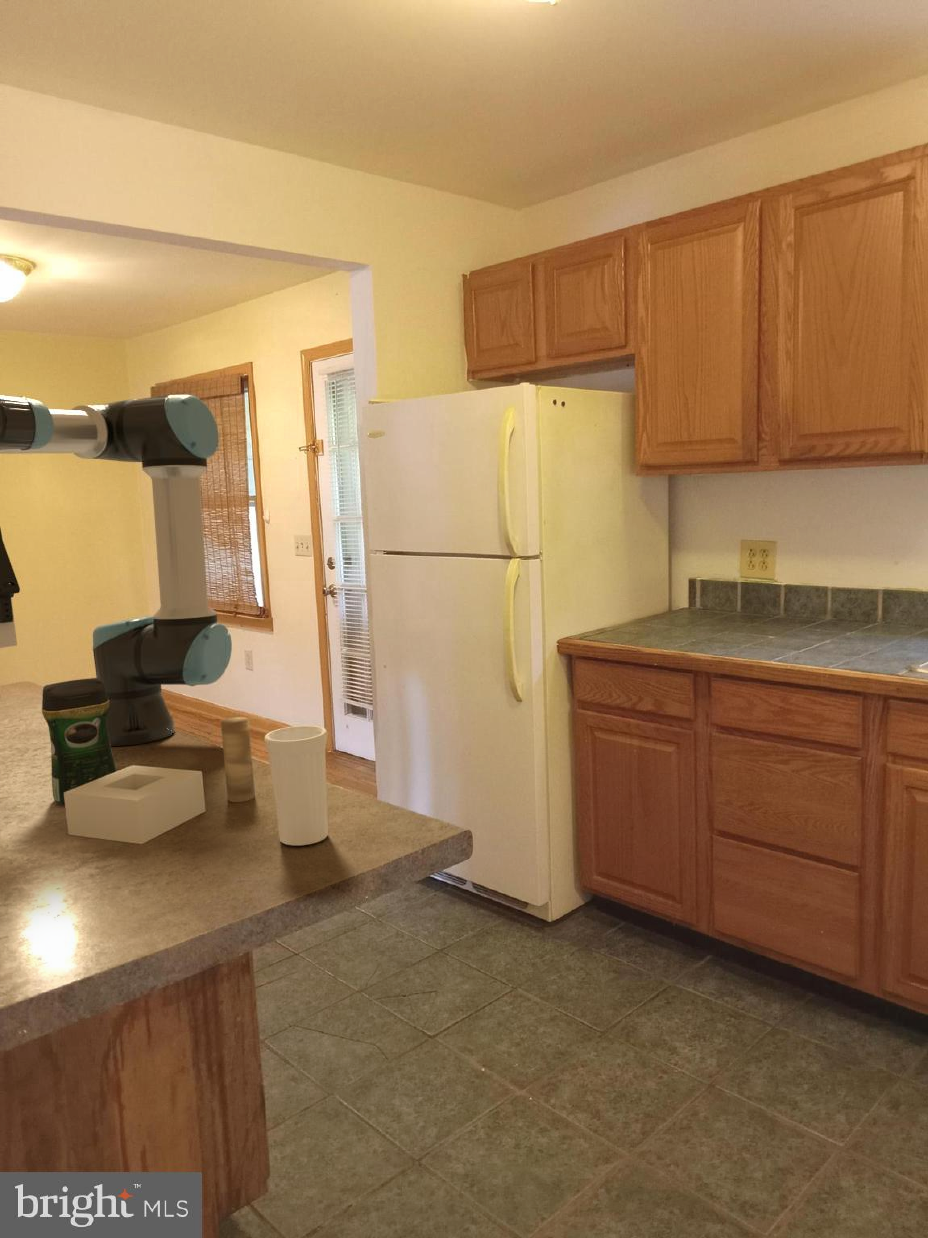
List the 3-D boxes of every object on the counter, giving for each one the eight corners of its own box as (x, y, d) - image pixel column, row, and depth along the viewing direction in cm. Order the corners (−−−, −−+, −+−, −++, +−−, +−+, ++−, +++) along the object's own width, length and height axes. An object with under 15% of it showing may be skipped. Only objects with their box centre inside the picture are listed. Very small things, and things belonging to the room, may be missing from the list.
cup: (267, 835, 121) (258, 731, 119) (326, 824, 124) (318, 722, 122) (279, 856, 113) (270, 745, 111) (342, 843, 116) (334, 735, 115)
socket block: (136, 803, 137) (132, 765, 136) (205, 811, 132) (201, 771, 131) (68, 834, 125) (63, 792, 124) (141, 844, 120) (137, 800, 119)
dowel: (238, 792, 140) (232, 716, 138) (260, 794, 138) (253, 718, 136) (222, 801, 136) (215, 723, 134) (244, 803, 134) (237, 724, 133)
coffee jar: (114, 784, 147) (102, 672, 145) (123, 797, 140) (111, 679, 138) (49, 797, 142) (36, 681, 140) (56, 810, 136) (41, 689, 133)
